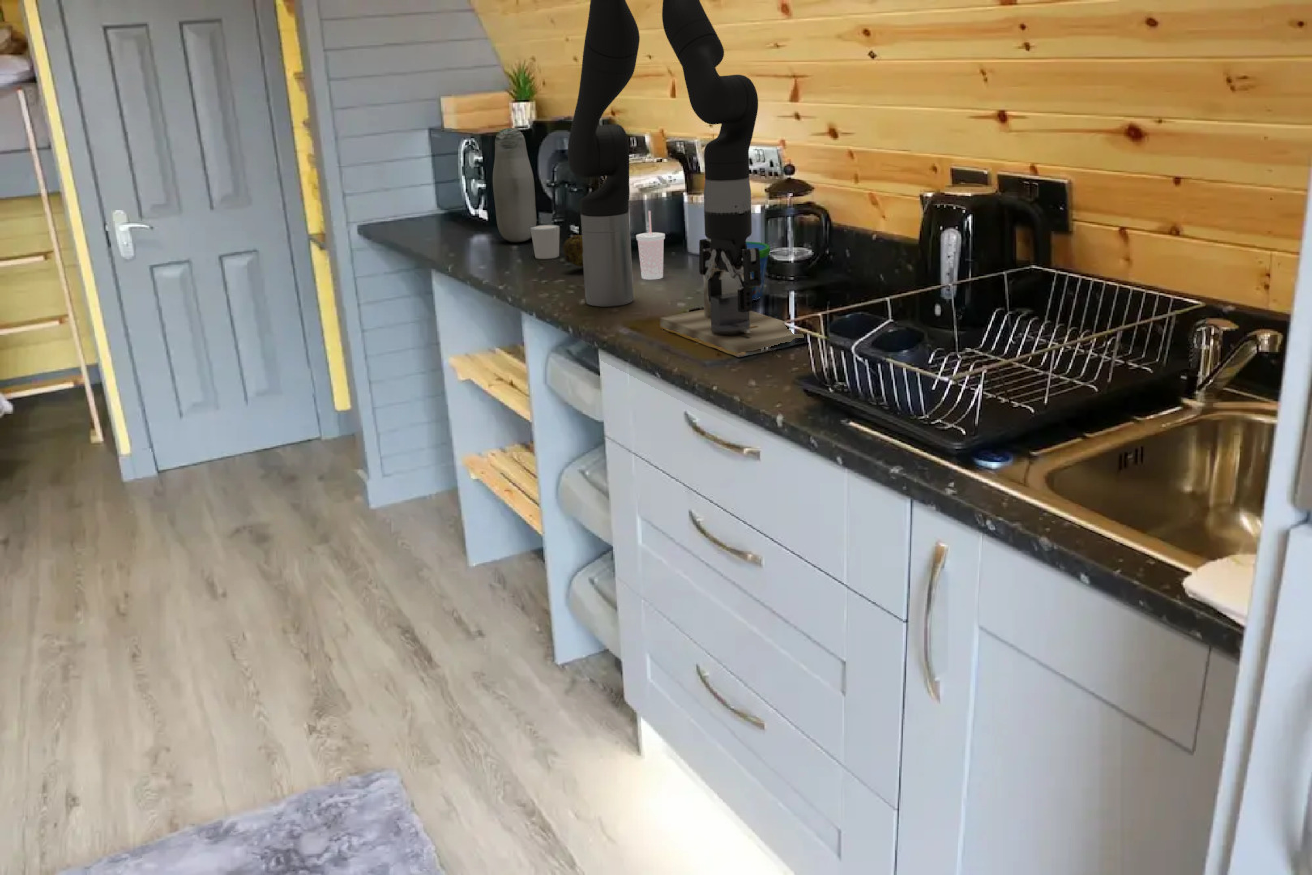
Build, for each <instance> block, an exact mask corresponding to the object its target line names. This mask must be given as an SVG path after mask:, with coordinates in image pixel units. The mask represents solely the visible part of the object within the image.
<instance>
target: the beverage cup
mask: <svg viewBox="0 0 1312 875" xmlns="http://www.w3.org/2000/svg"><path fill="white" fill-rule="evenodd" d="M635 238H636V241H637V246H638V256H639V264H640V274H641V279H643V280H659V279H662V278H664V240H665V239H666V234H665V233H664V232H653V231H652V211H651V210H648V232H643V233H638V234H636V235H635Z"/></svg>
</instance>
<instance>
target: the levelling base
mask: <svg viewBox="0 0 1312 875" xmlns="http://www.w3.org/2000/svg"><path fill="white" fill-rule="evenodd" d="M741 269H743V266H742V267H741ZM702 276H703V277H702V278H703V306H704V307H703V309H698V310H694V311H688V312H682V313H677V314H672V315H671V314H670V315H667V316H661V317H660V318H659V322H660V323H659V324H660V326H659V327H663V328H666V329H668V330H673V331H675V332H678V333H680V334H686V335H687V336H690V337H692V338H697V339H700V340H702V341H704V342H709V343H711V344H714V345H716V346H718V347H723V348H724V349H727V350H729V351H733V352H736V353H741V352H745V351H754V350H757V349H761V348H763V347H771V346H774V345H778V344H780V343H785V342H791V341H792V340H793V339H795V338H804V335H803V334H793V333H792V332H791V330H789V329H787V327H786V326H785V325H784V324H783V323H784V322H786V321H785V320H781V319H777V318H775V317H772V316H770V315H765V314H762V313H759V312H756V311H752V310H750V311H749V320H750V329H751V333H744V334H740V335H719V334H715V333H712V332H711V302H709V296H708V280H706V278H705V275H702ZM741 278H742V280H743V281H744V276H742V277H741ZM719 279H720V280H721V282H722V295H723V294H729V293H734V292H738V289H739V288H738V286H737V284H736V281H735V279H734V278H732V277H731V276H730V273H729V272H727V271H725V270H724V272H723V274H722V276H721V278H719Z"/></svg>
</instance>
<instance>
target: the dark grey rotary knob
mask: <svg viewBox="0 0 1312 875" xmlns="http://www.w3.org/2000/svg"><path fill="white" fill-rule="evenodd" d="M711 332H712V333H715V334H719V335H740V334H744V333H751V329H750V320H749V311H748V312H743V313H742V312H739V311H738V292H734V293H729V294H723V295H718V296H712V297H711Z"/></svg>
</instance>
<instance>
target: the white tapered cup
mask: <svg viewBox="0 0 1312 875" xmlns="http://www.w3.org/2000/svg"><path fill="white" fill-rule="evenodd" d="M530 229H531V235H532V237H531V238H532V246H533V251H534V256H535V258H536V259H539V260H547V259H548V260H549V259H555V258H559V257H560V225H556V224H540V225H536V226H534V227H531V228H530Z"/></svg>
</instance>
